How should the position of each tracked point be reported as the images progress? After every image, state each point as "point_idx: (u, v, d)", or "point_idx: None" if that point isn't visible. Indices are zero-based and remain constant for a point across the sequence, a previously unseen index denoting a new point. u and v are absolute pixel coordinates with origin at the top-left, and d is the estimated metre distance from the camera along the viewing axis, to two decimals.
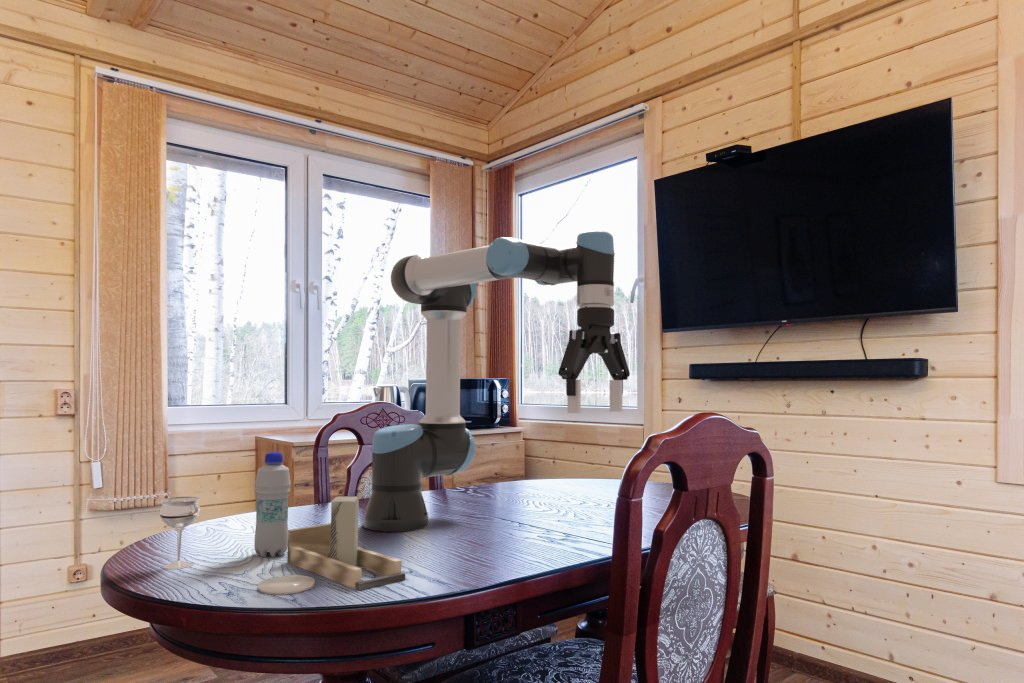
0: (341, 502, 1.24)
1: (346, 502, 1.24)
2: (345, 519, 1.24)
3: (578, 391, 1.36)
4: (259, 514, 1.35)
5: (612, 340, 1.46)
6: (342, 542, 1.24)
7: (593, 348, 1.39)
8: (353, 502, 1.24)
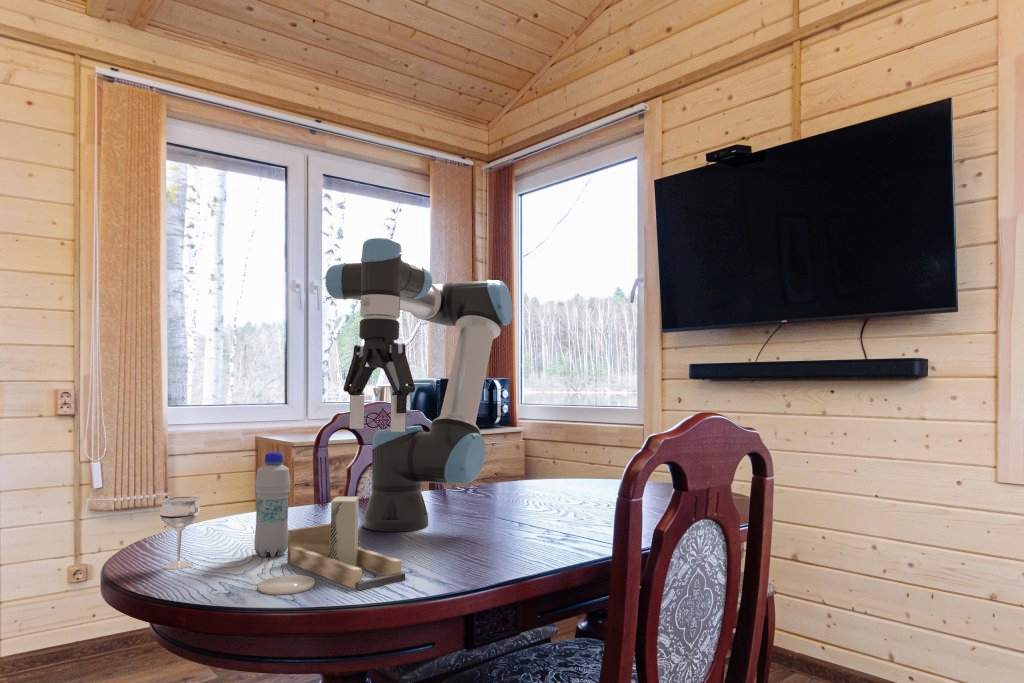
0: (341, 502, 1.24)
1: (345, 502, 1.24)
2: (345, 519, 1.24)
3: (350, 406, 1.38)
4: (259, 514, 1.35)
5: None
6: (342, 542, 1.24)
7: (362, 363, 1.35)
8: (353, 502, 1.24)
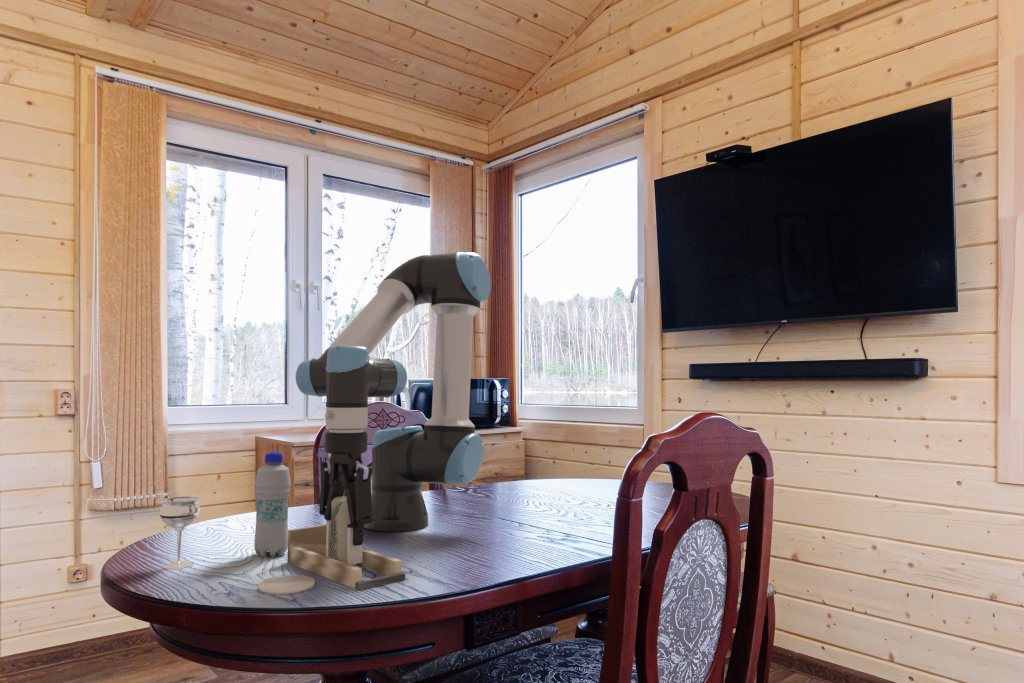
0: (341, 502, 1.24)
1: (345, 501, 1.24)
2: (345, 519, 1.24)
3: (326, 533, 1.28)
4: (259, 514, 1.35)
5: None
6: (342, 542, 1.24)
7: (331, 480, 1.27)
8: None
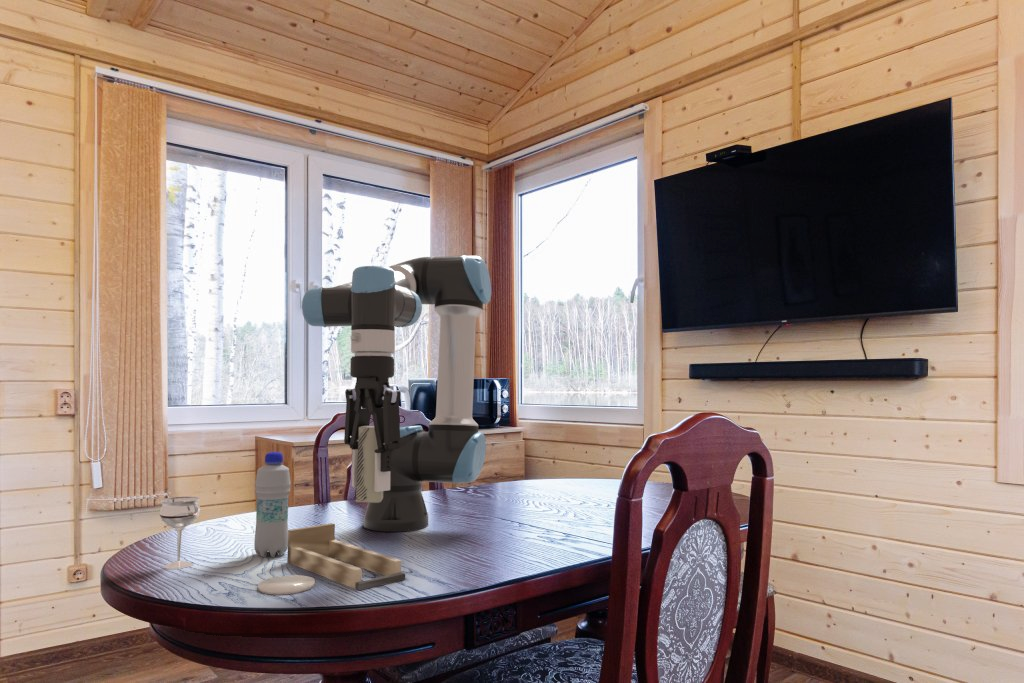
0: (369, 428, 1.19)
1: (373, 427, 1.19)
2: (373, 446, 1.19)
3: (352, 462, 1.23)
4: (259, 514, 1.35)
5: None
6: (369, 469, 1.19)
7: (357, 406, 1.22)
8: None
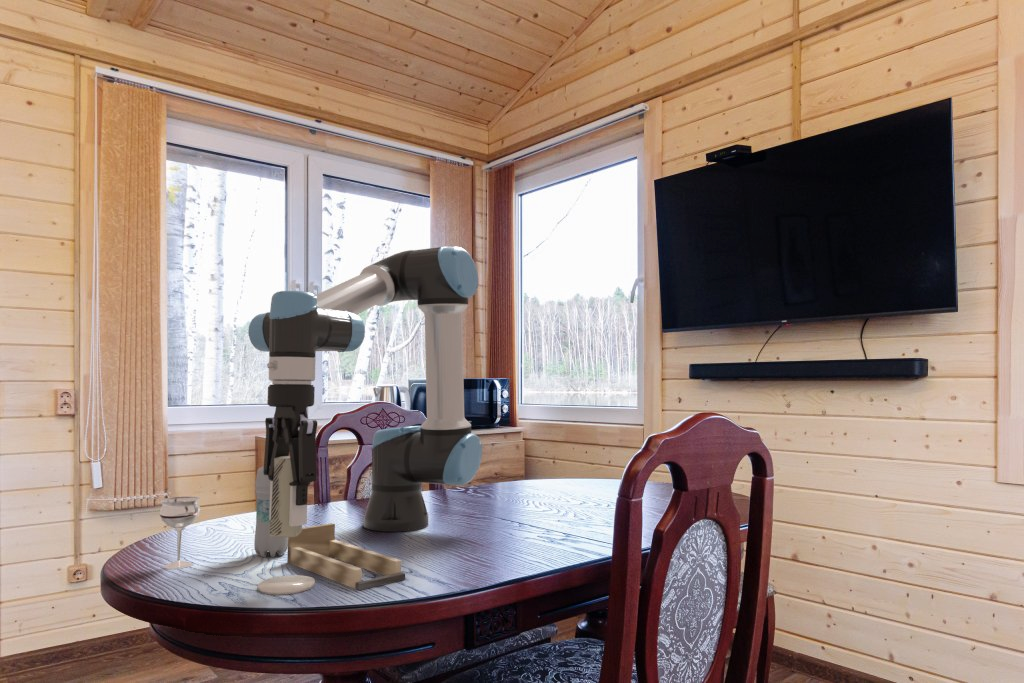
0: (285, 459, 1.15)
1: None
2: (289, 478, 1.14)
3: (270, 494, 1.18)
4: (259, 514, 1.35)
5: None
6: (284, 503, 1.14)
7: (275, 436, 1.17)
8: None
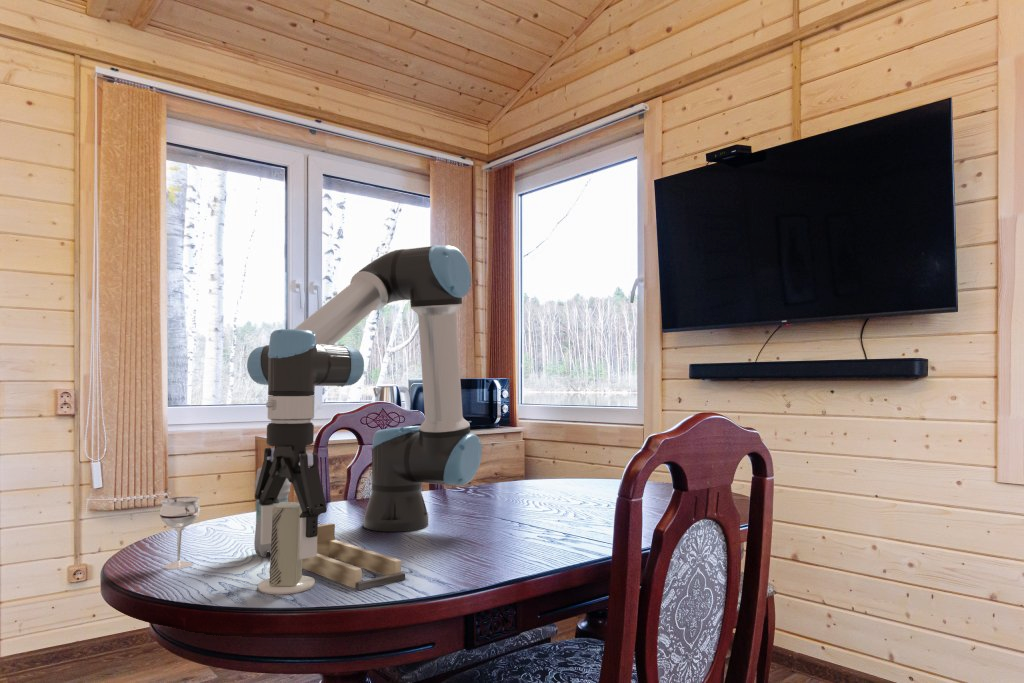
0: (283, 508, 1.14)
1: (288, 508, 1.14)
2: (288, 527, 1.14)
3: (261, 518, 1.20)
4: (259, 514, 1.35)
5: None
6: (283, 552, 1.14)
7: (271, 471, 1.18)
8: (296, 508, 1.14)
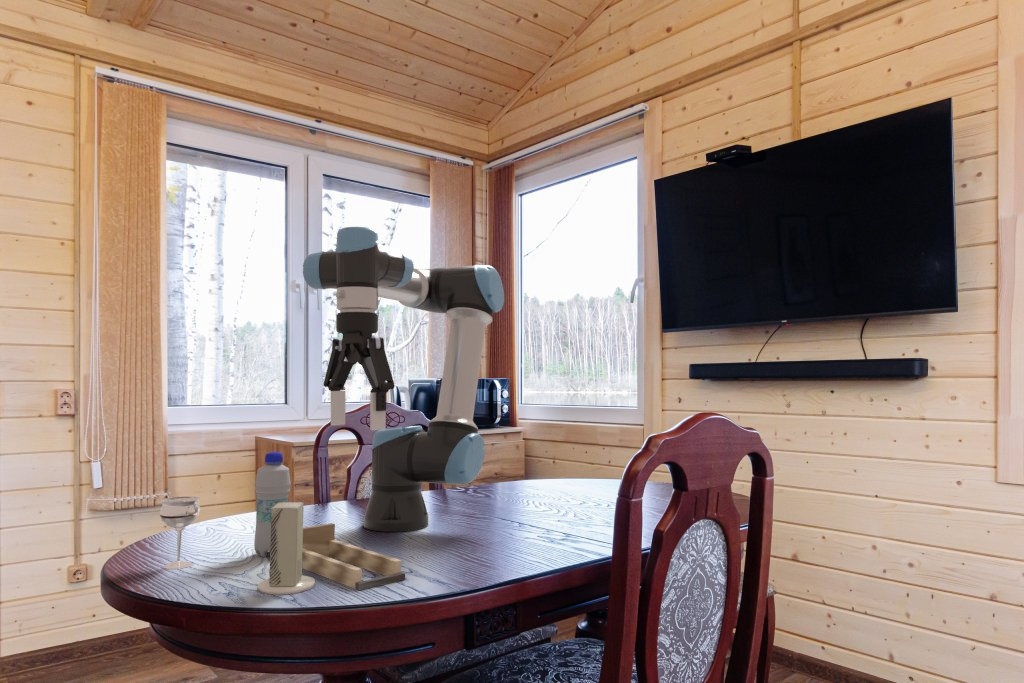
0: (282, 509, 1.14)
1: (287, 508, 1.14)
2: (287, 527, 1.14)
3: (331, 402, 1.33)
4: (259, 514, 1.35)
5: None
6: (282, 552, 1.13)
7: (341, 358, 1.30)
8: (295, 509, 1.14)
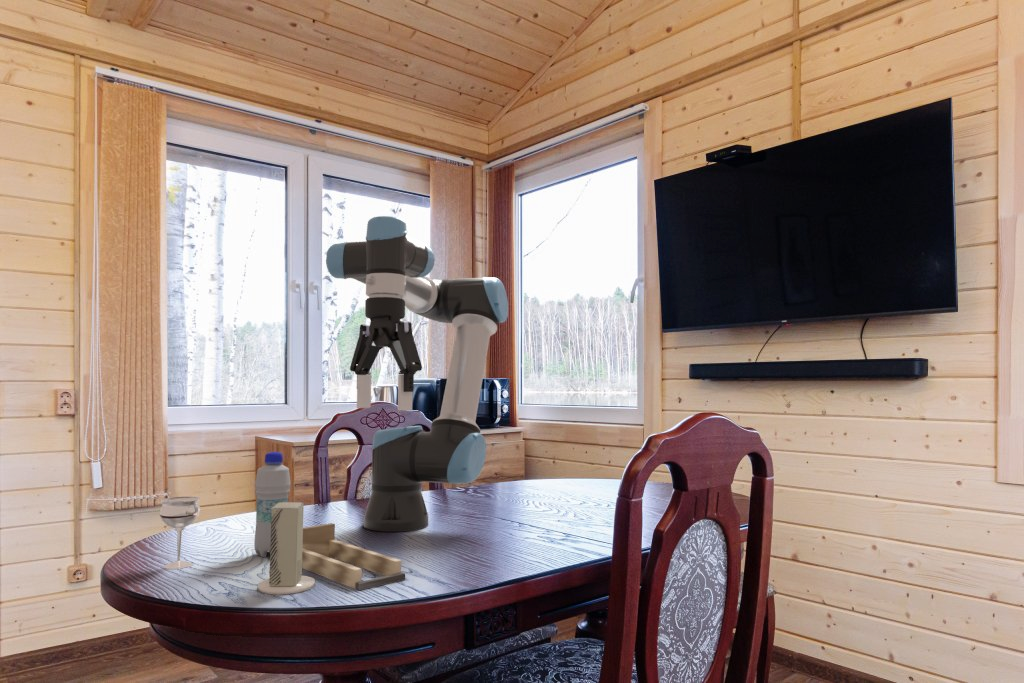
0: (282, 509, 1.14)
1: (287, 508, 1.14)
2: (287, 527, 1.14)
3: (357, 386, 1.37)
4: (259, 514, 1.35)
5: None
6: (282, 552, 1.13)
7: (368, 342, 1.35)
8: (295, 509, 1.14)
